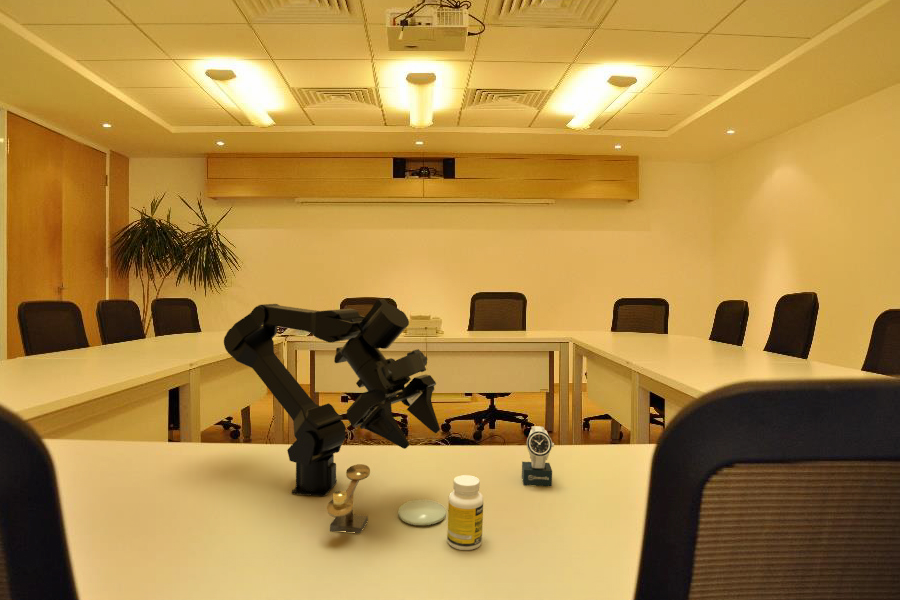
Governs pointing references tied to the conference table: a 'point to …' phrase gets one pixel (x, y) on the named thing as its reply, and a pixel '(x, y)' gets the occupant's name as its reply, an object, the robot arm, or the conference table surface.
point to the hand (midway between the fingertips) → (423, 439)
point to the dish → (422, 512)
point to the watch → (538, 458)
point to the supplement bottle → (465, 514)
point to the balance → (348, 503)
